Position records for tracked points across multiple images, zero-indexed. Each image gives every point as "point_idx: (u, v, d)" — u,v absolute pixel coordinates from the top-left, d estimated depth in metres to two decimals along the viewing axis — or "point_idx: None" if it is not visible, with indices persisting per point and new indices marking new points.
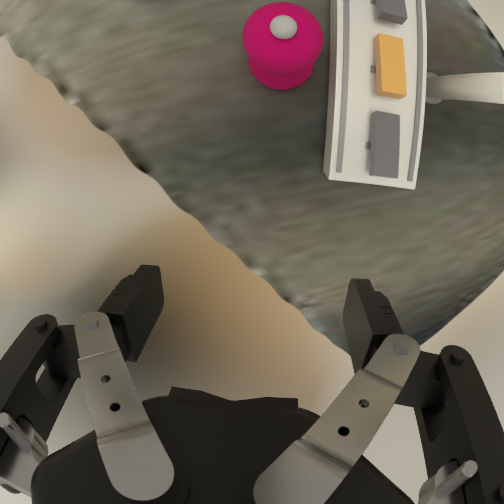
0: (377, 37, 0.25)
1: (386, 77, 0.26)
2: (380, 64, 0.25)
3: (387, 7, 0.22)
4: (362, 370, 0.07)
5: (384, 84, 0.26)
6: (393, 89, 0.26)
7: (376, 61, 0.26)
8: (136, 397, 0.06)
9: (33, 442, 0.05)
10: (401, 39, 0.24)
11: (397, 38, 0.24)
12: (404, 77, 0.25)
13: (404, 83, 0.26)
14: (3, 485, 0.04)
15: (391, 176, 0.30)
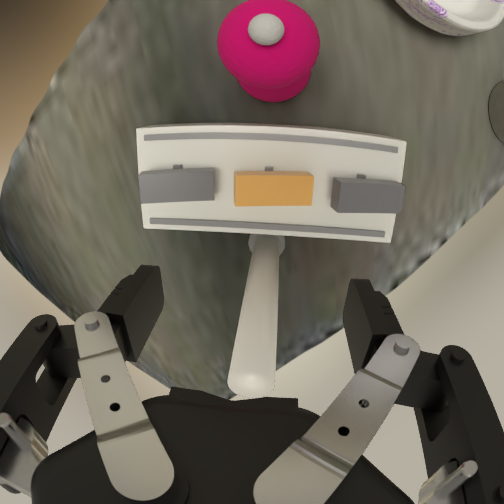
0: (308, 174, 0.28)
1: (254, 181, 0.27)
2: (270, 174, 0.27)
3: (348, 189, 0.26)
4: (362, 370, 0.07)
5: (244, 179, 0.26)
6: (240, 190, 0.27)
7: (276, 172, 0.28)
8: (136, 397, 0.06)
9: (33, 442, 0.05)
10: (309, 204, 0.28)
11: (310, 199, 0.28)
12: (258, 204, 0.28)
13: (250, 204, 0.28)
14: (3, 485, 0.04)
15: (141, 195, 0.28)
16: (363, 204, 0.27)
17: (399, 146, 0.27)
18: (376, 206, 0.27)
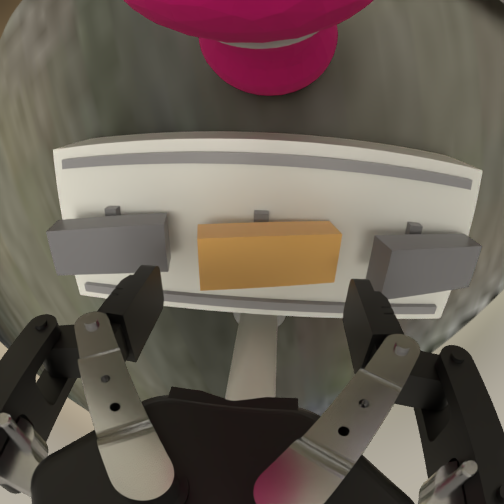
0: (331, 230, 0.15)
1: (232, 248, 0.15)
2: (262, 234, 0.15)
3: (402, 261, 0.14)
4: (362, 370, 0.07)
5: (213, 244, 0.14)
6: (207, 263, 0.15)
7: (275, 224, 0.16)
8: (136, 397, 0.06)
9: (33, 442, 0.05)
10: (331, 280, 0.16)
11: (332, 272, 0.16)
12: (241, 285, 0.16)
13: (227, 286, 0.15)
14: (3, 485, 0.04)
15: (55, 263, 0.16)
16: (421, 282, 0.15)
17: (472, 178, 0.15)
18: (438, 283, 0.15)
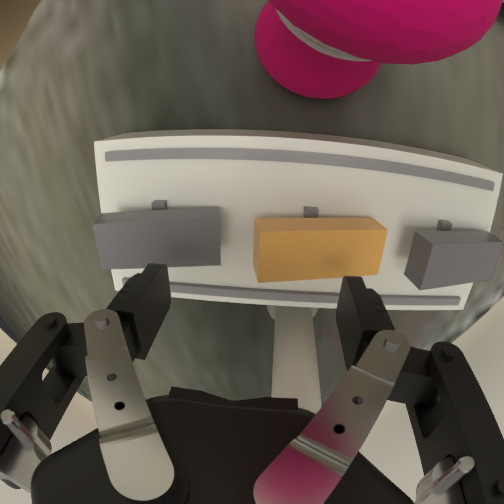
0: (377, 225, 0.16)
1: (292, 241, 0.15)
2: (319, 229, 0.15)
3: (440, 254, 0.15)
4: (354, 367, 0.07)
5: (275, 237, 0.15)
6: (267, 256, 0.15)
7: (326, 220, 0.17)
8: (141, 397, 0.06)
9: (36, 440, 0.05)
10: (375, 272, 0.17)
11: (377, 265, 0.17)
12: (297, 277, 0.16)
13: (284, 278, 0.16)
14: (4, 480, 0.04)
15: (100, 257, 0.16)
16: (453, 273, 0.15)
17: (494, 180, 0.16)
18: (467, 275, 0.16)
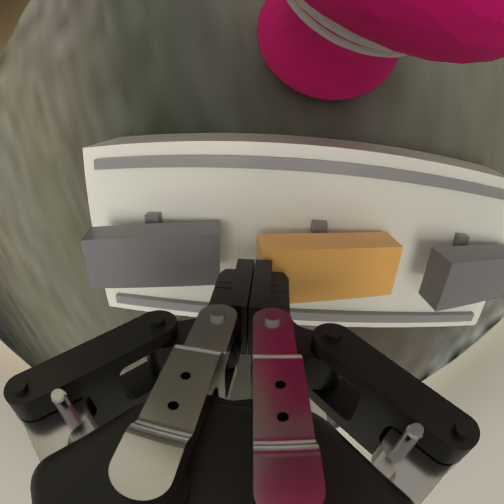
0: (392, 242, 0.14)
1: (298, 261, 0.14)
2: (328, 247, 0.14)
3: (459, 273, 0.13)
4: (256, 356, 0.07)
5: (279, 257, 0.13)
6: None
7: (336, 235, 0.15)
8: (199, 407, 0.06)
9: (78, 427, 0.06)
10: (388, 292, 0.15)
11: (390, 284, 0.15)
12: (303, 299, 0.15)
13: None
14: None
15: (90, 275, 0.15)
16: (471, 292, 0.14)
17: None
18: (484, 292, 0.14)
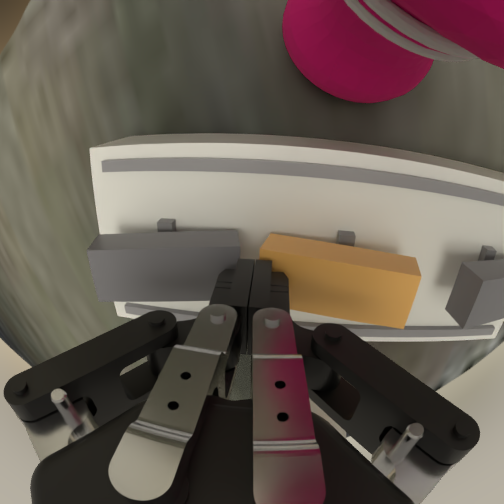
0: (411, 269, 0.12)
1: (295, 267, 0.13)
2: (330, 258, 0.13)
3: (489, 290, 0.11)
4: (256, 356, 0.07)
5: (276, 258, 0.13)
6: None
7: (351, 249, 0.14)
8: (199, 407, 0.06)
9: (78, 427, 0.06)
10: (401, 325, 0.13)
11: (403, 317, 0.13)
12: (300, 308, 0.14)
13: None
14: None
15: (97, 287, 0.14)
16: (497, 309, 0.12)
17: None
18: None
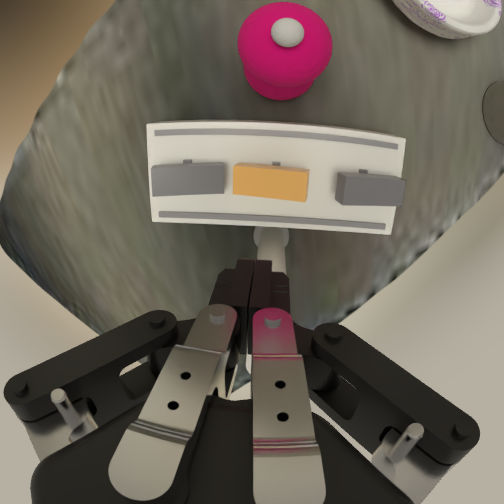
0: (304, 171, 0.28)
1: (249, 172, 0.29)
2: (264, 168, 0.28)
3: (352, 182, 0.27)
4: (256, 356, 0.07)
5: (240, 169, 0.29)
6: (236, 179, 0.29)
7: (276, 166, 0.29)
8: (199, 407, 0.06)
9: (78, 427, 0.06)
10: (303, 200, 0.28)
11: (303, 195, 0.28)
12: (253, 194, 0.29)
13: (246, 193, 0.30)
14: None
15: (153, 188, 0.29)
16: (366, 197, 0.28)
17: (399, 143, 0.29)
18: (378, 199, 0.29)
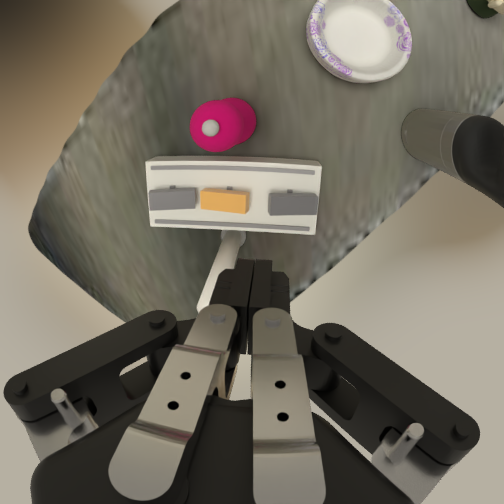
0: (244, 194, 0.44)
1: (210, 195, 0.45)
2: (219, 192, 0.45)
3: (276, 200, 0.43)
4: (256, 356, 0.07)
5: (204, 193, 0.45)
6: (202, 199, 0.46)
7: (228, 190, 0.45)
8: (198, 407, 0.06)
9: (78, 427, 0.06)
10: (244, 213, 0.45)
11: (244, 209, 0.44)
12: (213, 209, 0.46)
13: (208, 208, 0.46)
14: None
15: (150, 205, 0.45)
16: (287, 209, 0.44)
17: (316, 170, 0.45)
18: (297, 211, 0.45)
